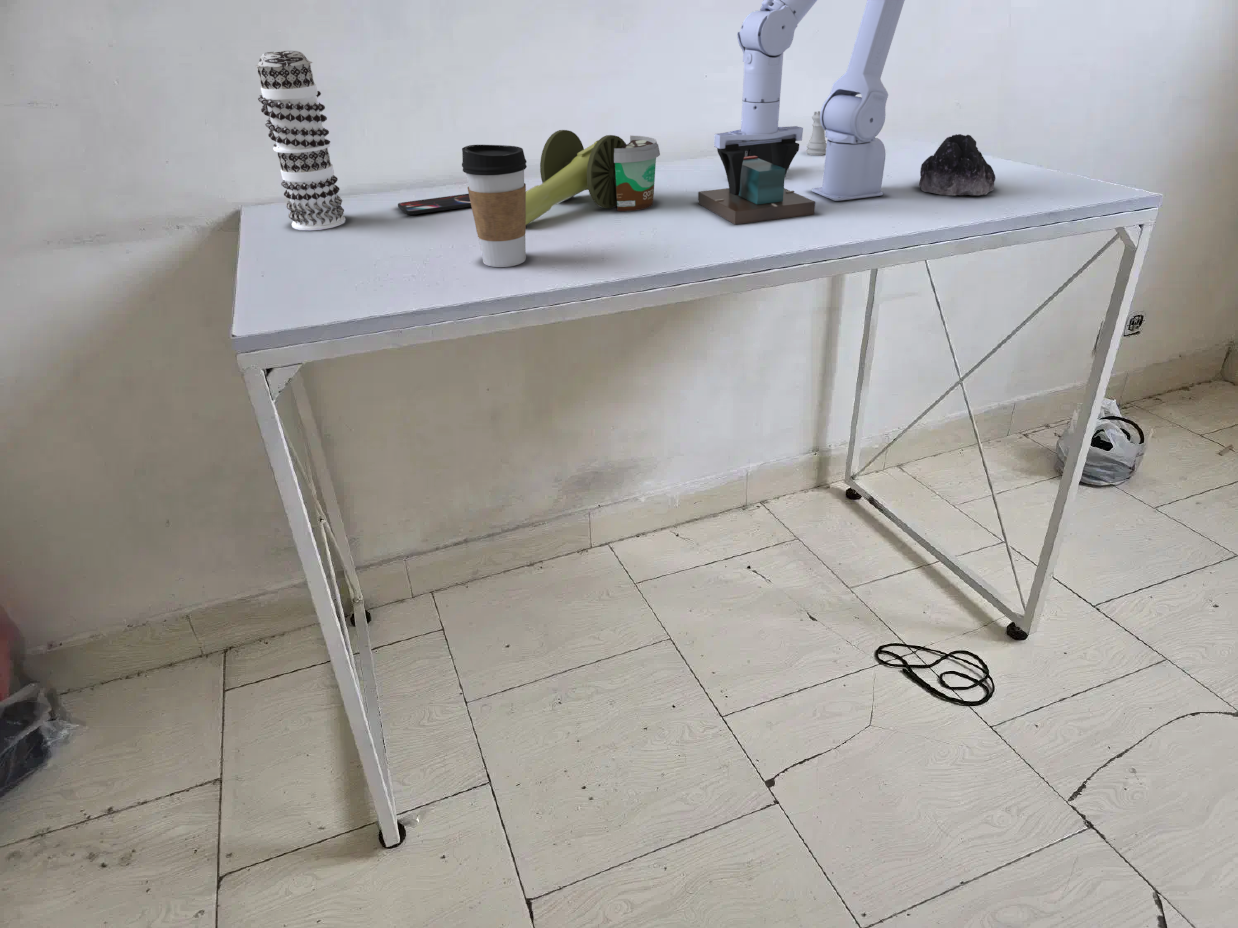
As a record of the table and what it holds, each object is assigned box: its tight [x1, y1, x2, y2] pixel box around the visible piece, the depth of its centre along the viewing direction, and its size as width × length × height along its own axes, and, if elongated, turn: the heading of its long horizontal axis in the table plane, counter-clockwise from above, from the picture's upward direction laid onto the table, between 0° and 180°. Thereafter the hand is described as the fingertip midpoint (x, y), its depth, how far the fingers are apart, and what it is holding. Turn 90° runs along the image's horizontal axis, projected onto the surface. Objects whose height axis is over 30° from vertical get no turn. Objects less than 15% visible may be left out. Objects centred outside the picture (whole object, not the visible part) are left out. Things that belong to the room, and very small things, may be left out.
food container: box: [614, 135, 661, 212], centre depth 133 cm, size 12×6×10 cm, turn 166°
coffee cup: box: [461, 144, 528, 268], centre depth 108 cm, size 8×8×15 cm
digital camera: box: [739, 140, 772, 163], centre depth 151 cm, size 10×5×7 cm, turn 144°
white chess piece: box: [805, 110, 827, 156], centre depth 166 cm, size 4×4×8 cm
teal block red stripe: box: [738, 156, 786, 205], centre depth 129 cm, size 10×5×5 cm, turn 20°
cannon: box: [526, 129, 627, 226], centre depth 131 cm, size 25×12×11 cm, turn 143°
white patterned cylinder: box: [254, 50, 346, 231], centre depth 125 cm, size 9×9×25 cm
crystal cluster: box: [918, 133, 997, 197], centre depth 137 cm, size 13×14×10 cm
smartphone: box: [397, 193, 472, 216], centre depth 138 cm, size 7×1×15 cm
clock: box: [697, 187, 816, 225], centre depth 131 cm, size 14×14×2 cm
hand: (755, 191), depth 130 cm, fingers open, 7 cm apart
